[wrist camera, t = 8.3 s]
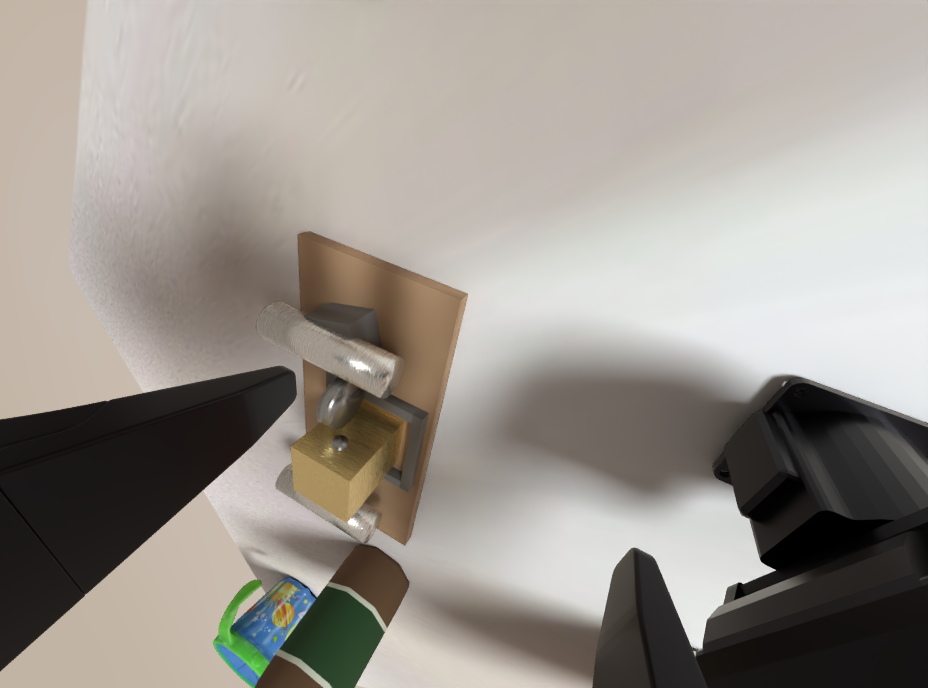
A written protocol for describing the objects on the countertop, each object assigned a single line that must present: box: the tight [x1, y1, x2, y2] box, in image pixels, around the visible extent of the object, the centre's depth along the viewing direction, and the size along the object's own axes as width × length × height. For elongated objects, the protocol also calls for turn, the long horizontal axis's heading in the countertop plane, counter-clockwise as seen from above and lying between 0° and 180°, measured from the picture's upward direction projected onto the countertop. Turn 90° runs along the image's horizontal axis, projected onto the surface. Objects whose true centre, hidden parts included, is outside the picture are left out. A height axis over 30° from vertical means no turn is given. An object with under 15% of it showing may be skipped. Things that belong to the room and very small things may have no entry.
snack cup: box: [213, 578, 316, 688], centre depth 51 cm, size 16×10×10 cm
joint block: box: [291, 399, 405, 523], centre depth 26 cm, size 5×4×6 cm
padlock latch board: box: [298, 232, 468, 545], centre depth 28 cm, size 12×26×4 cm, turn 167°
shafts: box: [256, 302, 404, 544], centre depth 27 cm, size 9×18×4 cm, turn 167°
